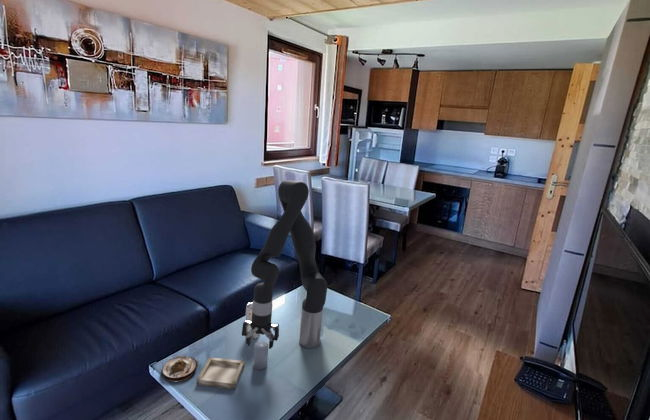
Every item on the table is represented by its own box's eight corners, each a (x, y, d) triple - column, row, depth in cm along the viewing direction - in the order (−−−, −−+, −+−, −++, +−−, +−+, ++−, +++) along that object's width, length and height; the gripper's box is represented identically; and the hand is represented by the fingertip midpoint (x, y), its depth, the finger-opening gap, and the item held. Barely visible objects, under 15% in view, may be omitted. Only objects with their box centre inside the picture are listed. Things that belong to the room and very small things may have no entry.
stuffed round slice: (191, 388, 120) (191, 378, 119) (150, 384, 120) (149, 374, 119) (206, 360, 134) (206, 351, 133) (170, 356, 134) (169, 347, 133)
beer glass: (256, 341, 148) (258, 311, 144) (242, 338, 149) (243, 308, 145) (262, 332, 154) (264, 303, 150) (248, 329, 155) (249, 300, 152)
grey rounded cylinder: (268, 360, 136) (269, 341, 134) (265, 370, 131) (266, 350, 129) (255, 359, 137) (256, 340, 134) (251, 368, 131) (252, 349, 129)
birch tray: (244, 366, 132) (244, 361, 131) (234, 389, 120) (234, 383, 120) (209, 362, 133) (209, 357, 132) (196, 384, 121) (196, 379, 120)
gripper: (282, 307, 131) (279, 343, 135) (247, 302, 132) (244, 337, 136) (278, 317, 124) (275, 355, 128) (240, 312, 125) (238, 349, 129)
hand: (259, 346), depth 132 cm, fingers open, 8 cm apart
